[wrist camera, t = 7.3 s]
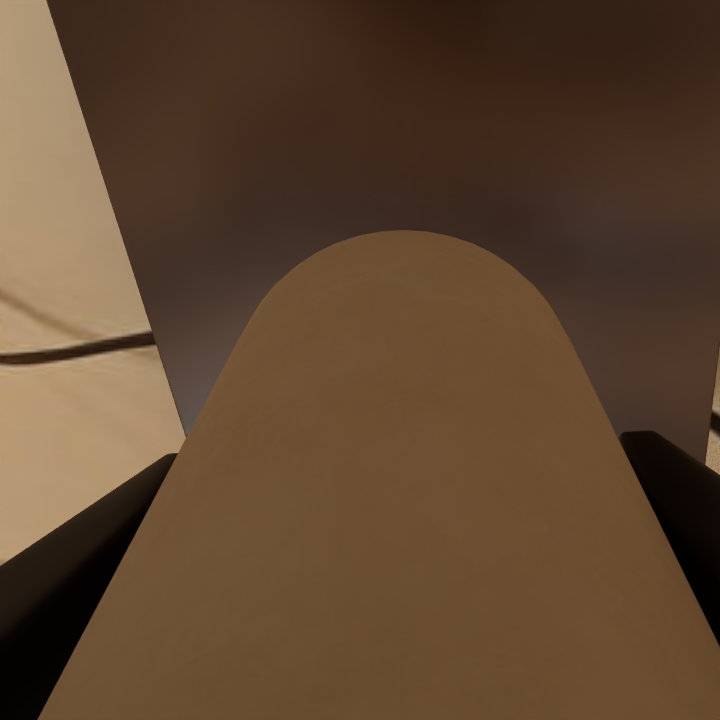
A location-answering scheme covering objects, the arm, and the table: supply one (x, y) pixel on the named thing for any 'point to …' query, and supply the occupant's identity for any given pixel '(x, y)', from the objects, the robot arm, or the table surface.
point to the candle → (398, 522)
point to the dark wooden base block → (420, 165)
